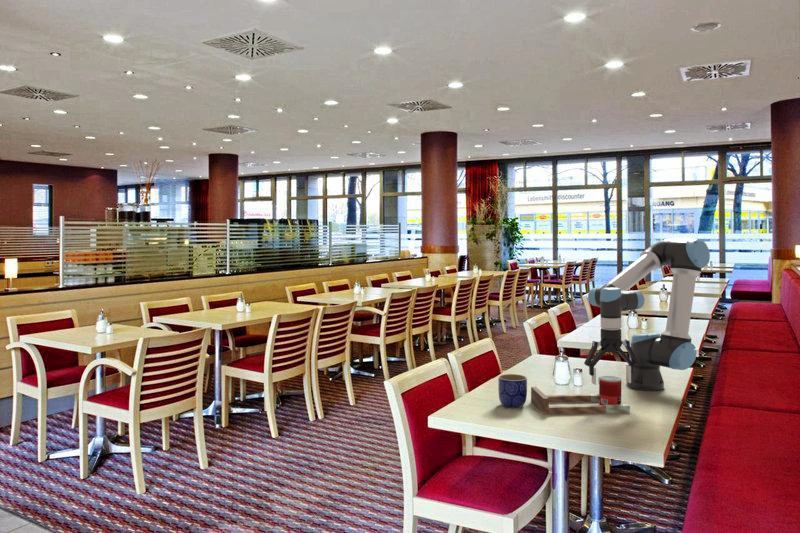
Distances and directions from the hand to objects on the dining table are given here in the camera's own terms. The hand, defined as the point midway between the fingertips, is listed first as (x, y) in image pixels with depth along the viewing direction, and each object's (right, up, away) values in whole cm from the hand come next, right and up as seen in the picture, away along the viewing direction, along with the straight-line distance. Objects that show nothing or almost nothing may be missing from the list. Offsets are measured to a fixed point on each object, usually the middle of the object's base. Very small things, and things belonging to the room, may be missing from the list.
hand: (611, 382), depth 233 cm
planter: (-38, -9, +2) cm, 39 cm away
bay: (-12, -9, 0) cm, 15 cm away
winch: (+2, -8, +12) cm, 15 cm away
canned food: (0, -9, 0) cm, 9 cm away
